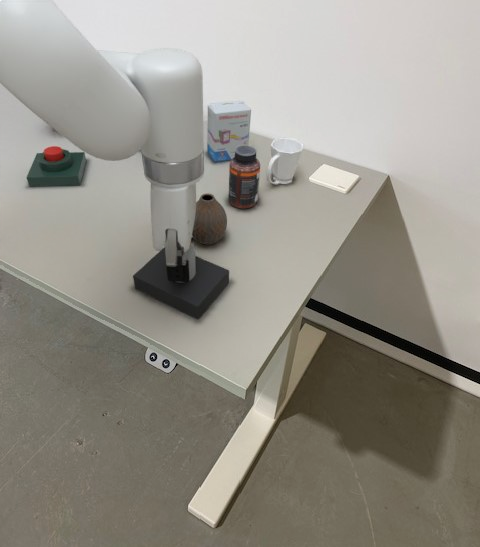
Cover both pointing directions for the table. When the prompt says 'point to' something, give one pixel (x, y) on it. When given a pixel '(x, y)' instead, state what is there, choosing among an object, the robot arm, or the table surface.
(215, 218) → the vase
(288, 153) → the cup
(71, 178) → the green button base
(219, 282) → the dial panel
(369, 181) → the table surface
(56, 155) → the lid button
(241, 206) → the supplement bottle
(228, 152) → the ink box
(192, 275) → the dial
